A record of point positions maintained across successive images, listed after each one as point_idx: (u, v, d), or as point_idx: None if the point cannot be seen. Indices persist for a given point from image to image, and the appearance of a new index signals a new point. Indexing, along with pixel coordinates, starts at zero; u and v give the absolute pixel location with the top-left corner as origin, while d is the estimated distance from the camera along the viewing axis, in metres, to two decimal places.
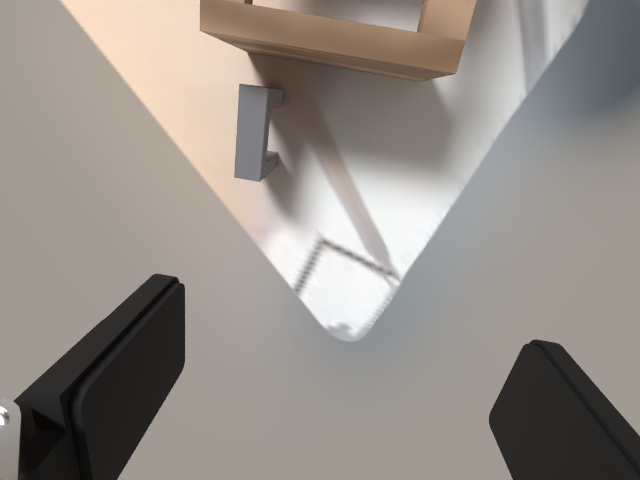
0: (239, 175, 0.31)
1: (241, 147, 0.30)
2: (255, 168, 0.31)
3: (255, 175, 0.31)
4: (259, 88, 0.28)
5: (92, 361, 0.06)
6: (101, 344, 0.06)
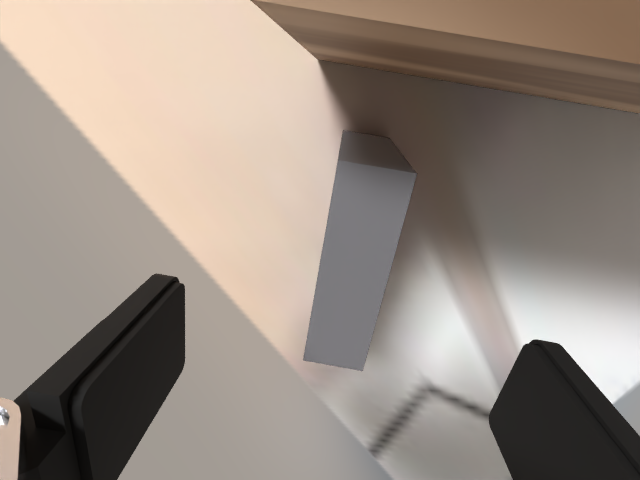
0: (315, 357, 0.13)
1: (326, 304, 0.12)
2: (356, 346, 0.13)
3: (354, 359, 0.13)
4: (393, 172, 0.10)
5: (92, 362, 0.06)
6: (101, 344, 0.06)
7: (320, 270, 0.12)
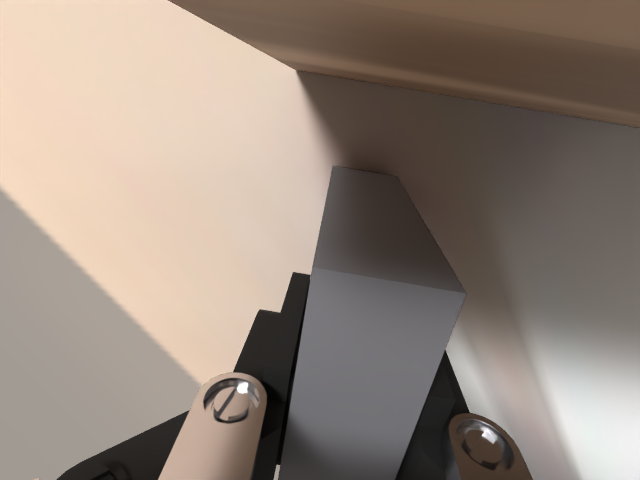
0: None
1: None
2: None
3: None
4: (420, 291, 0.05)
5: (296, 345, 0.07)
6: (292, 331, 0.07)
7: (288, 434, 0.07)
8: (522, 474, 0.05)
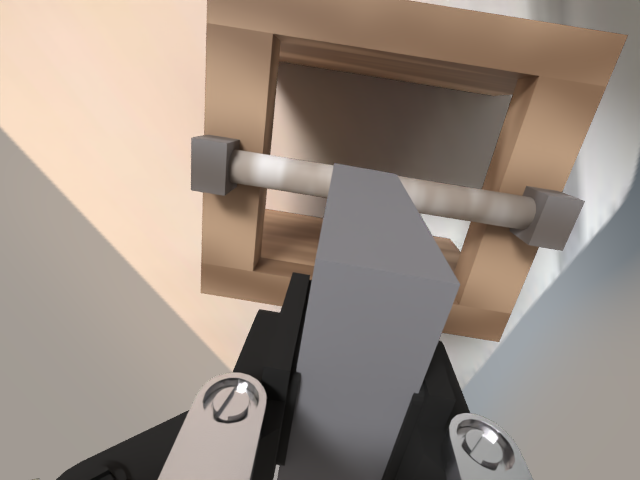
0: None
1: (302, 463, 0.08)
2: None
3: None
4: (416, 282, 0.06)
5: (295, 345, 0.07)
6: (292, 331, 0.07)
7: None
8: (523, 474, 0.05)
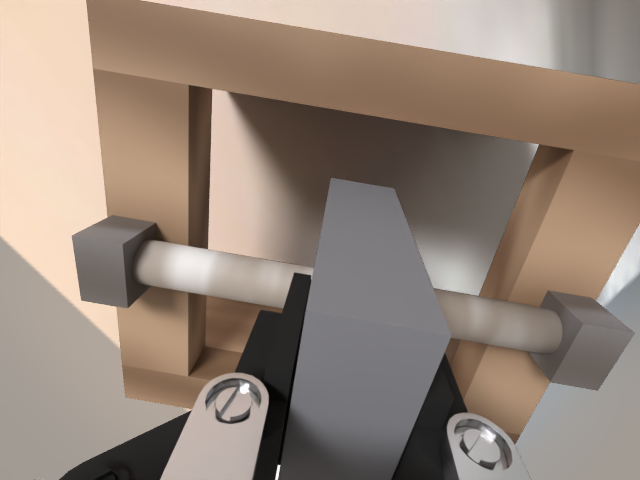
0: None
1: None
2: None
3: None
4: (407, 332, 0.06)
5: (297, 345, 0.07)
6: (294, 331, 0.07)
7: (285, 453, 0.07)
8: (520, 474, 0.05)
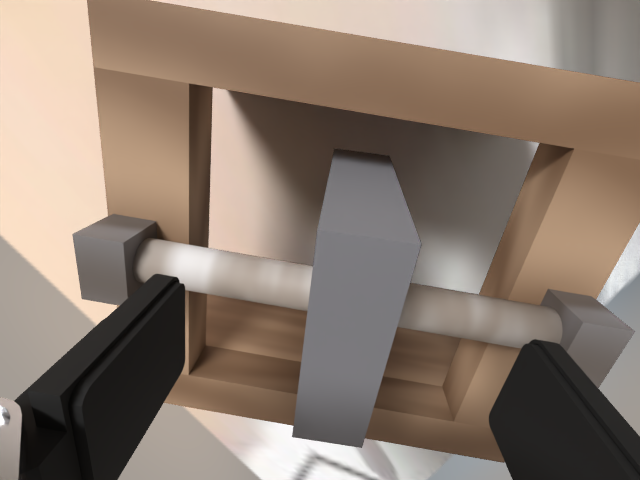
0: (306, 434, 0.11)
1: (315, 383, 0.10)
2: (352, 424, 0.11)
3: (351, 436, 0.11)
4: (390, 243, 0.08)
5: (93, 362, 0.06)
6: (102, 344, 0.06)
7: (305, 349, 0.10)
8: None
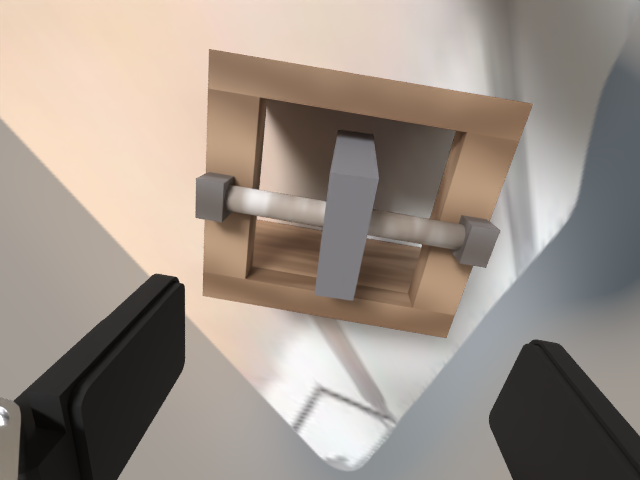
0: (322, 293, 0.21)
1: (327, 259, 0.19)
2: (347, 285, 0.20)
3: (347, 293, 0.21)
4: (364, 178, 0.17)
5: (92, 362, 0.06)
6: (101, 344, 0.06)
7: (322, 238, 0.19)
8: None
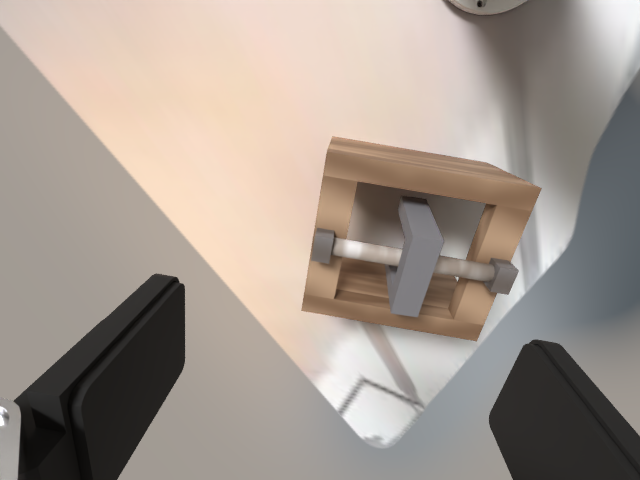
0: (396, 311, 0.30)
1: (403, 289, 0.29)
2: (415, 306, 0.30)
3: (414, 312, 0.30)
4: (434, 240, 0.26)
5: (92, 362, 0.06)
6: (101, 344, 0.06)
7: (402, 276, 0.28)
8: None
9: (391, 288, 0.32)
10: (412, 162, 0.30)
